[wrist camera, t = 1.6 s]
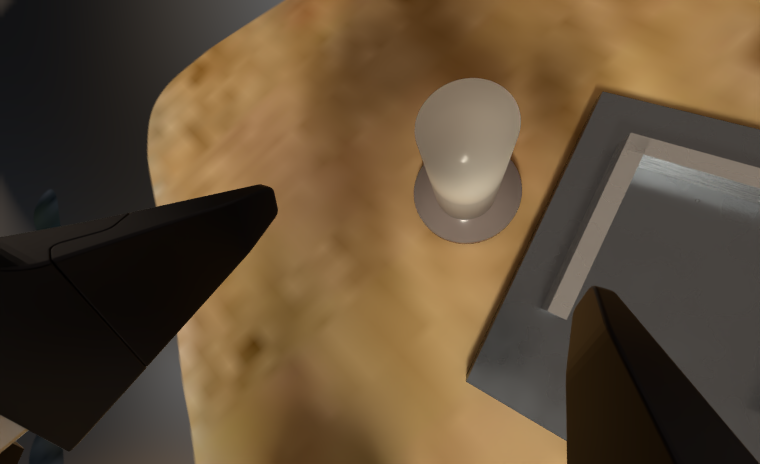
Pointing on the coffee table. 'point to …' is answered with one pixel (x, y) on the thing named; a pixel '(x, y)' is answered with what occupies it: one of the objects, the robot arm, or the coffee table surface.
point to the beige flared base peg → (468, 160)
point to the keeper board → (641, 261)
